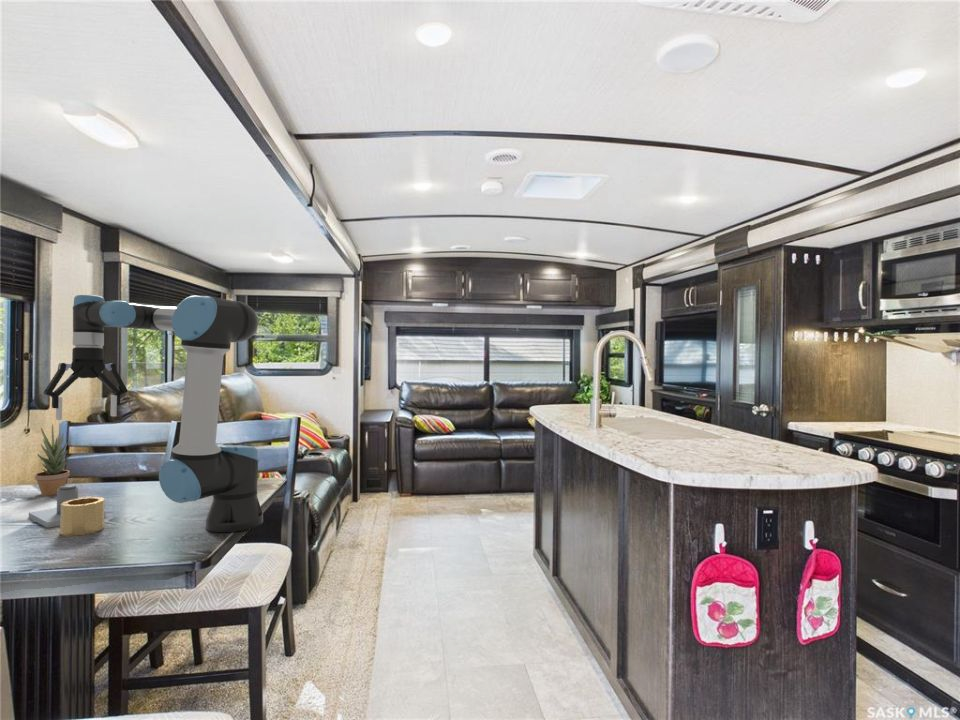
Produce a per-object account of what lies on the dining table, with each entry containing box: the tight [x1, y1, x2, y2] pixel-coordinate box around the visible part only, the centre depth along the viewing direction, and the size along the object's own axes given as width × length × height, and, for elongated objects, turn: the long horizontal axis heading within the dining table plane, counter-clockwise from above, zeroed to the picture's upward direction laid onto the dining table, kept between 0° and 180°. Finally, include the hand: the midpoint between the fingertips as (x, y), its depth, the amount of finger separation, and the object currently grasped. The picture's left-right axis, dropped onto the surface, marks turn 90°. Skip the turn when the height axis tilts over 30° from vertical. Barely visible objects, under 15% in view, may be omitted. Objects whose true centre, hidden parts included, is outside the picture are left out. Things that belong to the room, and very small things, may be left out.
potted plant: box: [34, 423, 72, 496], centre depth 183 cm, size 10×10×25 cm
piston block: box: [28, 484, 106, 529], centre depth 156 cm, size 16×14×9 cm
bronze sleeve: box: [59, 496, 106, 537], centre depth 144 cm, size 9×9×8 cm
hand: (87, 418), depth 156 cm, fingers open, 13 cm apart
